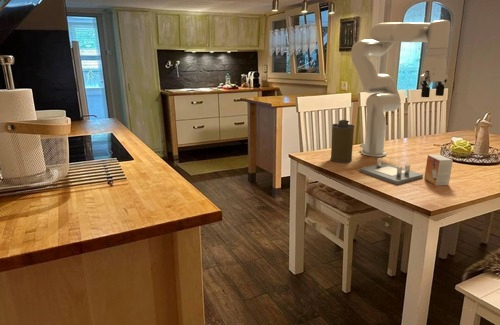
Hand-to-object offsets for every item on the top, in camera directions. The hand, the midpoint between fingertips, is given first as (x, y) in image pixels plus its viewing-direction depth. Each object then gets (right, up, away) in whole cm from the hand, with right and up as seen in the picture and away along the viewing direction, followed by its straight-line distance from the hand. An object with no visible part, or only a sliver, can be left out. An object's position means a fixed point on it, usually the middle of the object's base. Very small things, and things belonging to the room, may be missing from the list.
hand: (432, 96), depth 141 cm
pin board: (-15, -33, +6) cm, 37 cm away
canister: (-31, -26, +29) cm, 49 cm away
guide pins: (-15, -31, +5) cm, 35 cm away
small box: (-1, -36, -4) cm, 36 cm away
